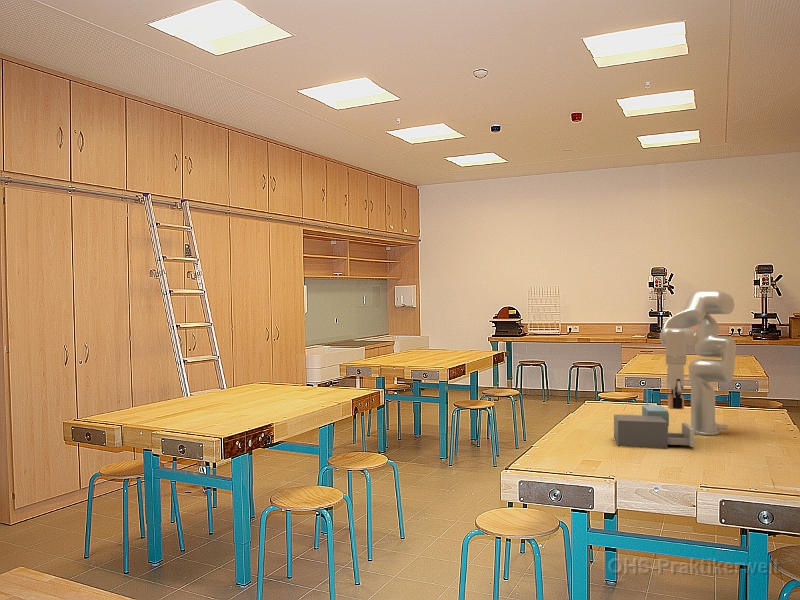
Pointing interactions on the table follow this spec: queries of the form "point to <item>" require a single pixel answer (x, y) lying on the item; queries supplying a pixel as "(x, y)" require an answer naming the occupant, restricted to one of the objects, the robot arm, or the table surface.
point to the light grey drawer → (682, 436)
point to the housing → (640, 431)
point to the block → (670, 401)
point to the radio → (655, 411)
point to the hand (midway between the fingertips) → (675, 406)
